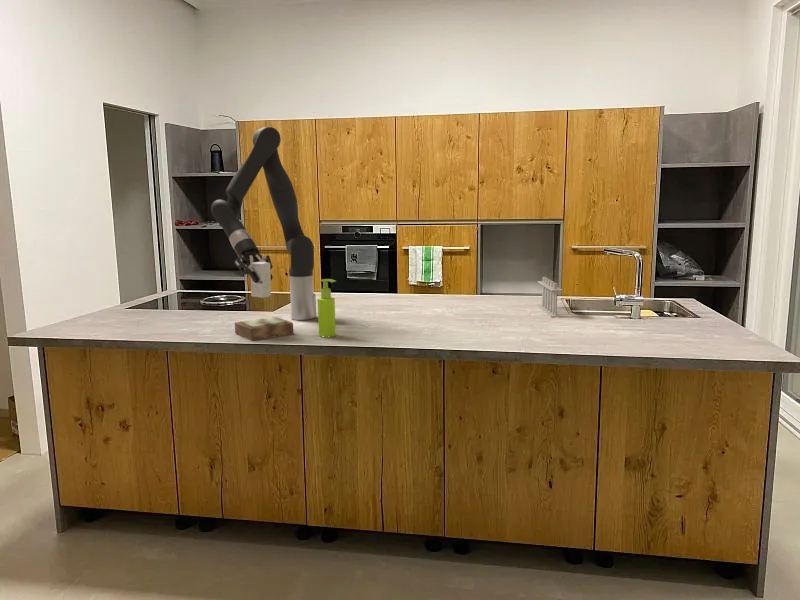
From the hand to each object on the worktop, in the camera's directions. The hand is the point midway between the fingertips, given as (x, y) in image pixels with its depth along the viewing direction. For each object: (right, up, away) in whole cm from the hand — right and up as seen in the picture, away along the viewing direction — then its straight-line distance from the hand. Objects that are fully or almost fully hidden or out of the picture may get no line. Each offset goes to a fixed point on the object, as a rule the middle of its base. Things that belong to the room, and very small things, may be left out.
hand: (264, 280), depth 216 cm
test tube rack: (+109, -12, +37) cm, 116 cm away
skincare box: (-1, -6, +2) cm, 6 cm away
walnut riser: (-1, -19, +4) cm, 19 cm away
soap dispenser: (+23, -20, 0) cm, 30 cm away
